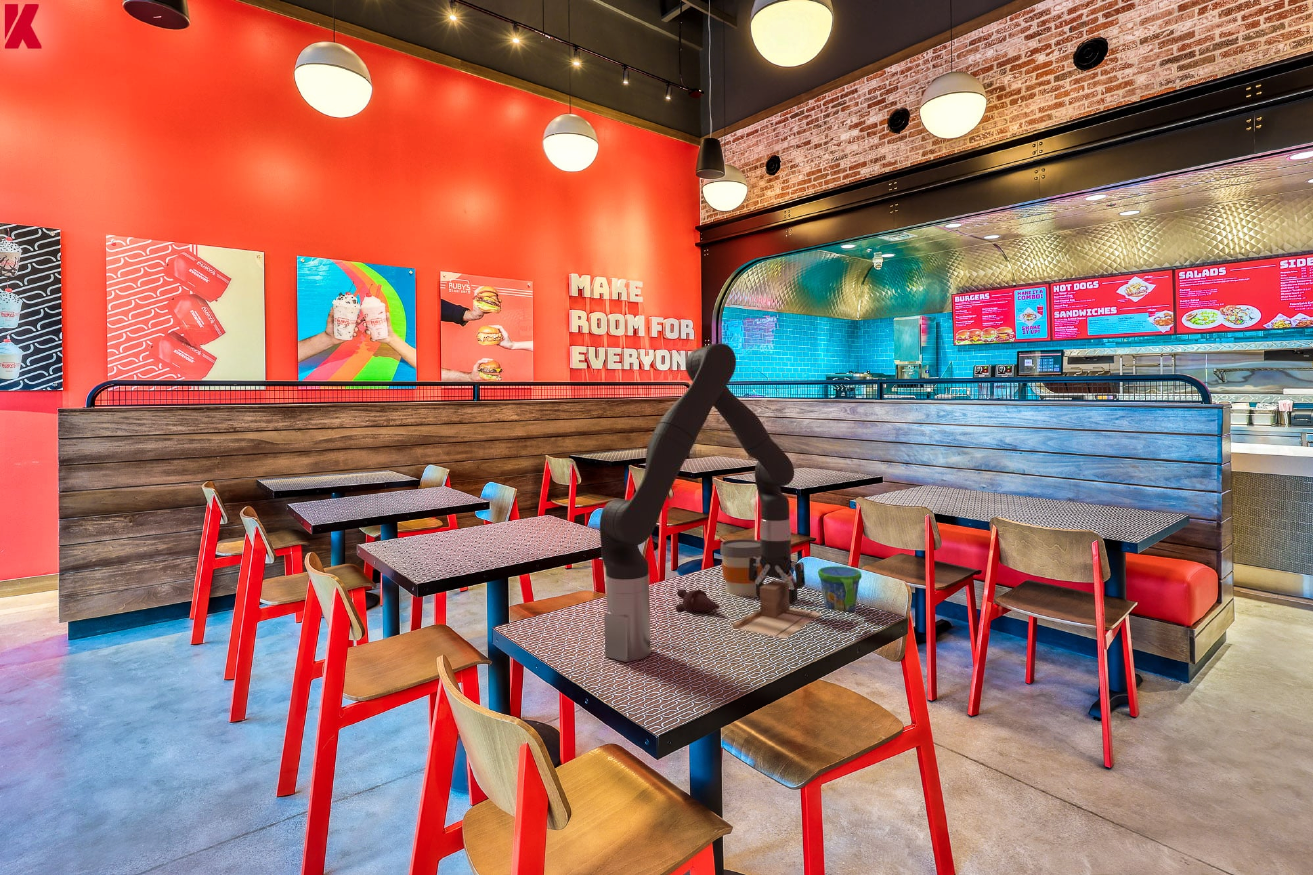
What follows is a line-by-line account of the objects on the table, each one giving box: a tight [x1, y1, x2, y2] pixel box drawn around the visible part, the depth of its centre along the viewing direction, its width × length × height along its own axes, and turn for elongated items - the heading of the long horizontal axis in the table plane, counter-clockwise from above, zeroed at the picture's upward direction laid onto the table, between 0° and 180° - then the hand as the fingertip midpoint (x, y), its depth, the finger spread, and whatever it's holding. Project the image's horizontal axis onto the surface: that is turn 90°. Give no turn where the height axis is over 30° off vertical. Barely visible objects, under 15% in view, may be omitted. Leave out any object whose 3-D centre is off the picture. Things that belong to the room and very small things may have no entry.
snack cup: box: [817, 565, 862, 614], centre depth 163 cm, size 16×10×10 cm
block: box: [759, 579, 791, 618], centre depth 158 cm, size 9×4×7 cm, turn 143°
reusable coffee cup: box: [720, 538, 763, 598], centre depth 177 cm, size 13×13×15 cm
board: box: [730, 607, 823, 640], centre depth 152 cm, size 21×14×2 cm, turn 143°
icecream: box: [675, 588, 721, 614], centre depth 161 cm, size 7×7×15 cm
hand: (776, 601), depth 158 cm, fingers open, 8 cm apart
